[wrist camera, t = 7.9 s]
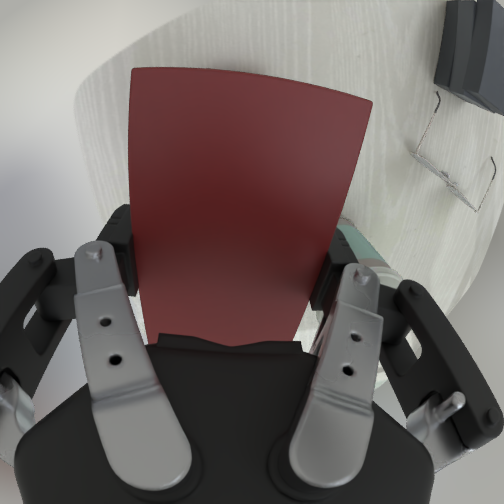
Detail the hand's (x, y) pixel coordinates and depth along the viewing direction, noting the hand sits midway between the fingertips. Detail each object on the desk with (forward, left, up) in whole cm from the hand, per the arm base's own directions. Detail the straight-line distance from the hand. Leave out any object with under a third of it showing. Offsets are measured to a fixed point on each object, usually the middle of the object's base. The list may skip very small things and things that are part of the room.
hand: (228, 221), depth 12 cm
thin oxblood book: (0, 0, +2) cm, 2 cm away
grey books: (-16, +22, -16) cm, 31 cm away
